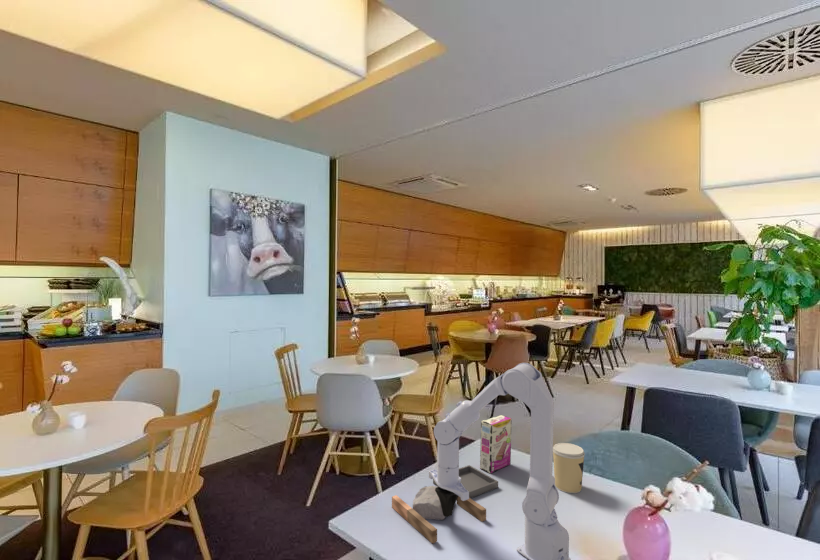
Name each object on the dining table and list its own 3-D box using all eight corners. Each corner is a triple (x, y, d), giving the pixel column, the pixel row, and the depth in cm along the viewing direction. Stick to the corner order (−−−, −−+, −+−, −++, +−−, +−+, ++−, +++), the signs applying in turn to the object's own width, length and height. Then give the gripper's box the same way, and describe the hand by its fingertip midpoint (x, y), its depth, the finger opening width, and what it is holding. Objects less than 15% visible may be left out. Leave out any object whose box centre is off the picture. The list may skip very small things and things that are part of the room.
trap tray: (498, 487, 127) (498, 481, 127) (460, 502, 119) (460, 495, 119) (469, 471, 138) (469, 465, 138) (433, 483, 130) (433, 476, 130)
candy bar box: (491, 474, 136) (491, 424, 136) (479, 469, 140) (479, 420, 140) (511, 464, 143) (512, 417, 143) (500, 459, 147) (500, 414, 147)
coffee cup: (587, 496, 123) (588, 455, 123) (555, 493, 125) (555, 453, 125) (580, 480, 132) (580, 443, 132) (549, 478, 134) (550, 441, 134)
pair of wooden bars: (486, 520, 110) (486, 508, 110) (432, 543, 100) (432, 531, 100) (442, 489, 126) (442, 479, 126) (391, 507, 116) (391, 496, 116)
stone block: (411, 523, 112) (447, 521, 109) (408, 505, 112) (444, 502, 110) (421, 501, 123) (453, 499, 121) (418, 485, 124) (450, 482, 121)
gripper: (478, 471, 106) (477, 523, 106) (442, 451, 118) (442, 498, 118) (457, 478, 102) (456, 533, 102) (422, 456, 114) (422, 505, 114)
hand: (447, 515), depth 110 cm, fingers closed
